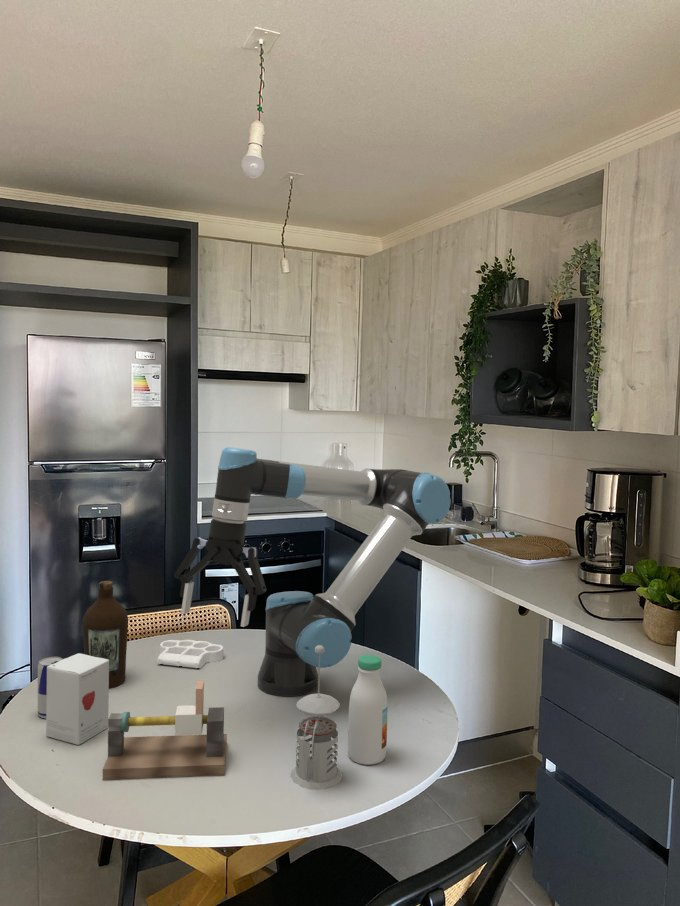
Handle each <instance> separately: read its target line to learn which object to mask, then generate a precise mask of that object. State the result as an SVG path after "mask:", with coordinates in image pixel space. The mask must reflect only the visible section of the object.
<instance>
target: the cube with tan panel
mask: <svg viewBox="0 0 680 906" xmlns="http://www.w3.org/2000/svg"><path fill="white" fill-rule="evenodd" d="M204 682H205V680H197V682H196V687H195V705H177V707H176V712H175V715H174V716H175V725H174V736H178V735H203V730H204V729H203V728H204V724H202V715H204V703H205V701H204V699H205V697H204V694H205V693H204V691H205V686H204V685H205V683H204Z"/></svg>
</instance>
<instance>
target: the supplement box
mask: <svg viewBox="0 0 680 906" xmlns="http://www.w3.org/2000/svg"><path fill="white" fill-rule="evenodd" d="M62 659H63V660H61V661H59V662H57V663H54V664H52V665H50V666H47V705H46V719H45V720H46V722H45V725H46V726H45V735H46V737H49V738H52V739H55V740H58V741H64V742H65V743H70V744H74V745H76V746H80V745H82V744H83V743H85V742H86V741H88V740H89V739H91V738H94V736H96V735H98V734H100V733H101V732H104V731H105V730H107V729H108V719H109V707H110V706H109V704H110V703H109V702H110V701H109V699H110V697H109V694H110V693H109V691H110V688H109V660H108V659H104V658H98V657H93V656H89V655H85V654H84V653H79V652H78V653H76V654H74V655H73V654H72V655H71V656H69V657H66V658H62Z"/></svg>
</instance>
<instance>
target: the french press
mask: <svg viewBox="0 0 680 906" xmlns="http://www.w3.org/2000/svg"><path fill="white" fill-rule="evenodd" d="M315 652H316V653H319V667H318V686H317V693H312V694H306V695H305V696H303V697H301V698H300V699H299V700H298V701H296V707H297V709H298V711H300V712H301V713H302V714H305V715H309V717H306V718H303V719H302V720H301V721H300V722H298V729H297V730H296V731H297V732H296V747H295V748H296V749H295V751H296V754H295V758H296V760H295V767H294V768H293V769H292V770H291V772H290V778H291V780H292V782H293V783H295V785H298V786H299V787H302V788H305V789H309V790H310V789H311V790H324V789H327V788H328V789H329V788H332V787H334V786H336V785H337V784H339V783H340V781H341V780H342V779H343V773H342V771H341V769H340V768H339V767H338V757H337V756H338V754H339V753H338V751H337V750H338V748H339V746H338V744H337V743H338V742H339V731H338V729H337V726H338V725H337V723H336V722H335V721H334V720H332V718H328V717H324V716H326V715H330V714H333V713H335V712H336V711H337V710H338V709H339V708H340V705H341V704H340V702H339V701H338V699H336V698H334V696H331V695H328V694H324V693H320V682H321V681H320V678H321V677H320V674H321V668H320V653H324V652H325V649H324V647H323V646H322V645H317V646H316V647H315ZM308 736H311V737H309V738H306V737H308ZM300 737H303V739H302V738H300Z"/></svg>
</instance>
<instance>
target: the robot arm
mask: <svg viewBox="0 0 680 906" xmlns="http://www.w3.org/2000/svg"><path fill="white" fill-rule="evenodd" d="M257 455H258V454H257V451H255V450H252V449H244V448H240V447H238V448H237V447H230V446H227V447H225V448H223V449H222V451H221V455H220V458H219V462H218V463H219V464H218V466H217V469H218V470H217V477H216V486H215V493H214V500H213V505H212V512H211V516H212V517H213V518H212V519H211V520H210V523H209V524H210V525H209V531H208V538H207V539H205V538H204V537H203V536H200V537H195V538H193V542H192V544H191V548H190V550H189V551H188V552H187V554H186V555H185V557H184V558H183V560H182V561H181V562H180V565H179V566H178V568H177V569H176V570H175V572H174V573H173V577H174V578H175V579H177V580H180V582H181V583H180V589H179V590H180V591H179V596H180V598H182V605H181V611H180V613H181V615H186V614H188V613H190V611H191V604H192V597H193V591H194V585H195V582H194V581H192V579H194V578H195V577H196V576H197V575H198V574H199V573H200V572H201V571H202V570H204V569H205V568H206V567H207V566H208V565H209V564H210V563H211V562H214V563H215V564H223V565H225V566H230V565H231V566H232V568H233V569H234V570H235V572H236V574H237V576H238V577H239V579H240V581H241V583H242V584H243V587H244V588H245V590H246V591H247V593H246V594H245V595H244V601H243V607H242V613H241V621H240V627H243V628H244V627H247V626H248V625H249V622H250V616H251V612H253V611H254V610H255V609H256V604H257V599H258V598H257V597H258V596H259V595H260V596H261V595H263V594H265V593H267V586H266V583H265V580H264V577H263V573H262V569H261V566H260V563H259V560H258V548H257V547H256V546H254V547H245V545H244V543H245V539H246V538H245V537H246V532H247V531H246V529H247V524H246V522H247V520H248V516H249V509H250V502H251V497H252V495H254V496H263V497H264V496H265V497H274V498H280V499H281V498H283V499H285V500H286V499H298V498H300V496H307V497H308V496H311V497H319V498H329V499H339V500H348V501H357V502H358V503H359V504H360V505H363V506H369V507H372V508H373V507H374V508H378V509H380V510H383V516H382V517H381V518H380V520H379V521H378V522H377V524H376V525H375V527H373V529H372V530H371V531H370V533H369V534H368V535H367V537H366V538H365V540H363V542H362V543H361V545H360V546H359V547H358V549H357V550H356V552H355V553H354V554H353V555H352V557H351V558H350V560H349V561H347V564H345V566H344V568H343V569H342V570H341V571H340V573H339V574H338V575H337V577H336V578H335V580H334V581H333V582H332V583H331V585H330V587H328V589H327V590H326V591H325V592H323V593H316V594H315V595H313V593H311V592H309V591H301V590H300V591H299V590H294V591H291V590H290V591H282V592H276V593H275V592H274V593H273V594H270V595H269V596H268V597H267V599H266V606H265V652H264V657H263V659H262V662H261V665H260V667H259V670H258V674H257V687H258V688H259V690H261V691H263V692H264V693H266V694H269V695H273V696H278V697H297V696H301V695H302V696H303V695H308V694H309V693H311V692H313V691H315V690H316V689H318V677H319V671H318V669H317V668H319V653H316V652H315V647H316V646H317V645H322V646H323V647H324V649H325V652H324V653H320V669H325V668H329V667H333V666H336V665H337V664H338V663H340V662H341V661H342V660H344V658H346V656H347V655H348V653H349V651H350V649H351V646H352V641H351V640H352V636H353V635H352V633H351V632H352V631H353V630H354V627H355V626H356V625H357V624H356V618H355V616H356V614H357V613H358V612H359V609H361V607H362V606H363V604H364V603H365V602H366V600H367V599H368V598H369V596H370V595H371V594H372V592H373V591H374V590H375V588H376V587H377V585H378V583H380V581H381V579H382V578H383V577H384V575H386V573H387V572H388V570H389V569H390V567H391V566H392V564H393V563H394V562H395V561H396V559H397V558H398V556H399V555H400V553H401V552H402V551H403V549H404V548H405V547H406V545H407V544H408V542H409V541H410V539H412V537H413V536H420V535H422V534H423V532H424V531H425V529H426V528H427V527H428V526H429V525H430V524H437V523H439V522H441V521H442V520H444V519H445V518H446V516H447V515H448V513H449V512H450V507H451V504H452V503H451V502H452V501H451V496H450V495H451V492H450V489H449V486H448V484H447V483H446V481H445V480H444V479H443V478H441V477H440V476H438V475H436V474H433V473H429V472H419V471H413V470H407V469H398V468H397V469H396V468H395V469H392V468H391V469H387V468H385V469H378V468H377V469H375V468H363V469H362V470H361V471H359V470H353V469H346V468H345V469H343V468H335V467H327V466H319V465H312V464H304V463H294V462H285V461H280V460H279V461H278V460H271V459H262V458H257ZM204 548H205V549H206V550H207V554H206V555H204V556H203V557H202V558H201V560H200V561H199V562H198V563H196V564H195V565H194V566H193V567H192V568H191V569H190V570H188V569H189V568H190V566H191V565H192V563H193V562H194V561H195V560H196V557H197V556H198V555H199V553H200V551H201V550H202V549H204ZM243 554H245V557H246V558H247V561H248V565H249V568H250V569H249V570H250V572H251V575H252V577H251V575H250V574H249V572H248V570H247V568H246V566H245V565H244V562H243V559H242V558H241V557H242V555H243ZM252 578H253V579H252Z"/></svg>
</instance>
